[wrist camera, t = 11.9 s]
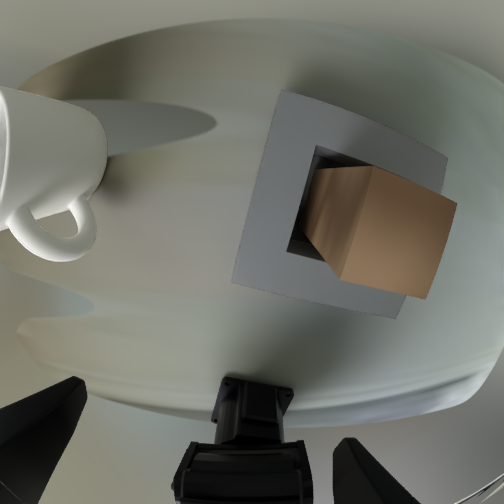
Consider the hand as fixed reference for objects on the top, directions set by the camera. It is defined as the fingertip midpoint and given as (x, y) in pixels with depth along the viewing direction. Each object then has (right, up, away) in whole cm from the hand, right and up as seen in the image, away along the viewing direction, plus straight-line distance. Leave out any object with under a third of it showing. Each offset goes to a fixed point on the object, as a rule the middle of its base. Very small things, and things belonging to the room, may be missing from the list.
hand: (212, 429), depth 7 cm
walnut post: (+7, +9, +11) cm, 16 cm away
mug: (-12, +12, +11) cm, 20 cm away
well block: (+7, +9, +11) cm, 16 cm away
